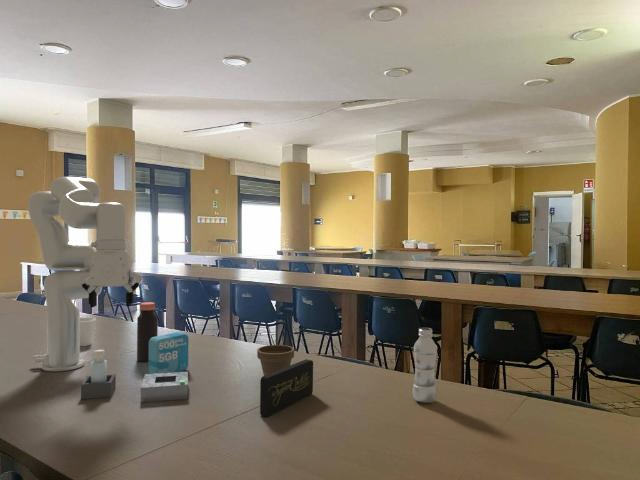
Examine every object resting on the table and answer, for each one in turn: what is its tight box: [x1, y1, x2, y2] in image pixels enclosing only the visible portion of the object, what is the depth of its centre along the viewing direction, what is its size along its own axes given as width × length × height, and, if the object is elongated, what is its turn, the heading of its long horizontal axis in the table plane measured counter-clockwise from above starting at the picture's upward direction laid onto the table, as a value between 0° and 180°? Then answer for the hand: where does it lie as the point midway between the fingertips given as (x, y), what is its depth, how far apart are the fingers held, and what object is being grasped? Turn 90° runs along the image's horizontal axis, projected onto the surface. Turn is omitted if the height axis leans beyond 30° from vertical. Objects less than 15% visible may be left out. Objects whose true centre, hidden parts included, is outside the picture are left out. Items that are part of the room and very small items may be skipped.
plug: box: [90, 349, 108, 383], centre depth 132 cm, size 4×4×12 cm
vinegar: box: [136, 301, 159, 363], centre depth 167 cm, size 7×7×20 cm
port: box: [140, 371, 189, 404], centre depth 133 cm, size 12×12×5 cm
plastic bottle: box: [412, 327, 438, 404], centre depth 130 cm, size 6×7×20 cm
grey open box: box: [80, 373, 117, 400], centre depth 132 cm, size 8×8×4 cm
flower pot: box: [256, 344, 295, 376], centre depth 145 cm, size 12×11×10 cm
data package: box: [148, 332, 190, 374], centre depth 152 cm, size 12×4×12 cm, turn 142°
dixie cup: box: [80, 316, 96, 347], centre depth 187 cm, size 8×8×10 cm
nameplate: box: [259, 359, 314, 418], centre depth 126 cm, size 21×2×10 cm, turn 147°
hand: (111, 306), depth 135 cm, fingers open, 9 cm apart
